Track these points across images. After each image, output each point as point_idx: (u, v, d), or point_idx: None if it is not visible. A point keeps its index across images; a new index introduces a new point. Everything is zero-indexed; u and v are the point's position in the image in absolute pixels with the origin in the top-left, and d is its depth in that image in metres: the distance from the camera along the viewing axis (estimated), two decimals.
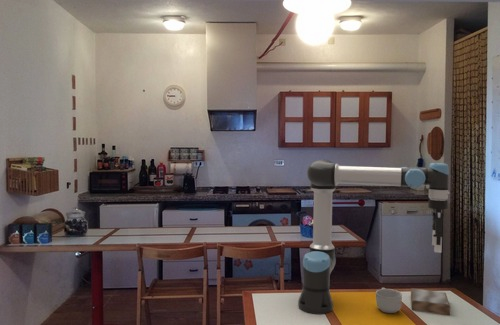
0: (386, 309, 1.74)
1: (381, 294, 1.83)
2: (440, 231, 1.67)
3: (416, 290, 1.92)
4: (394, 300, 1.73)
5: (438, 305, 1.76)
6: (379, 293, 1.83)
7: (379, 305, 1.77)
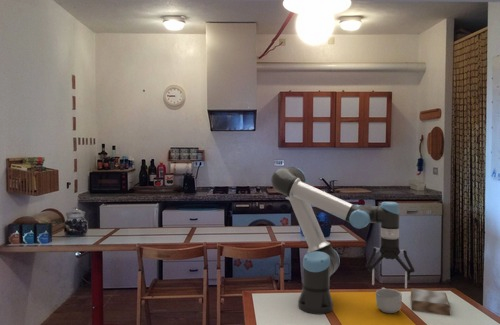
0: (386, 309, 1.74)
1: (381, 294, 1.83)
2: (366, 263, 1.82)
3: (416, 290, 1.92)
4: (394, 300, 1.73)
5: (438, 305, 1.76)
6: (379, 293, 1.83)
7: (379, 305, 1.77)
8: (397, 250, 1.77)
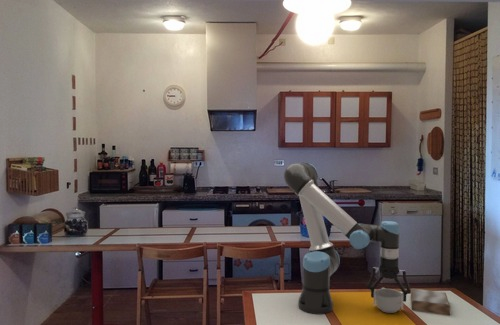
0: (386, 309, 1.74)
1: (381, 294, 1.83)
2: (368, 283, 1.82)
3: (416, 290, 1.92)
4: (394, 300, 1.73)
5: (438, 305, 1.76)
6: (379, 293, 1.83)
7: (379, 305, 1.77)
8: (396, 270, 1.78)
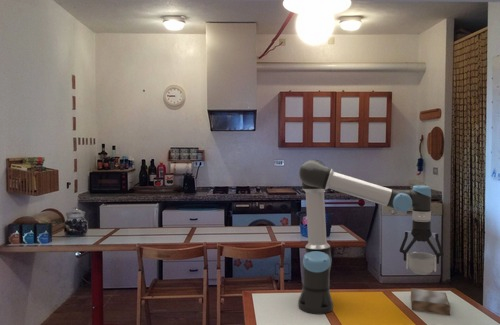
0: (419, 270, 1.77)
1: (413, 257, 1.86)
2: (400, 247, 1.85)
3: (416, 290, 1.92)
4: (427, 261, 1.76)
5: (438, 305, 1.76)
6: (411, 256, 1.85)
7: (412, 267, 1.79)
8: (429, 232, 1.80)
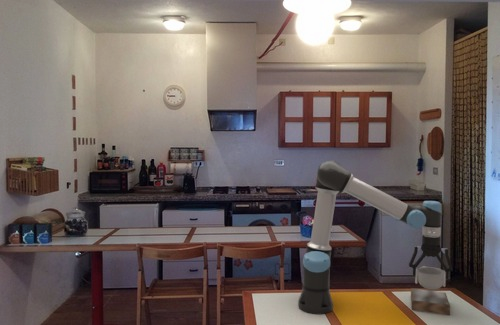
0: (429, 286, 1.79)
1: (422, 272, 1.88)
2: (410, 262, 1.87)
3: (416, 290, 1.92)
4: (437, 277, 1.78)
5: (438, 305, 1.76)
6: (420, 271, 1.87)
7: (422, 282, 1.81)
8: (439, 248, 1.82)
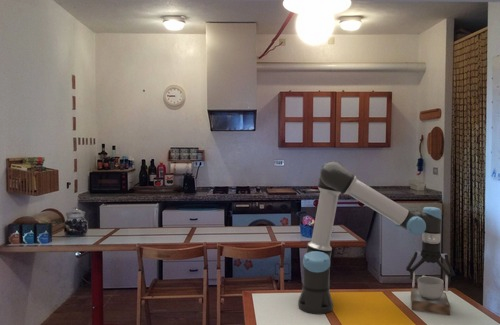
0: (429, 296, 1.79)
1: (422, 281, 1.88)
2: (407, 266, 1.87)
3: (416, 290, 1.92)
4: (437, 287, 1.78)
5: (438, 305, 1.76)
6: (420, 280, 1.87)
7: (422, 292, 1.81)
8: (438, 254, 1.82)
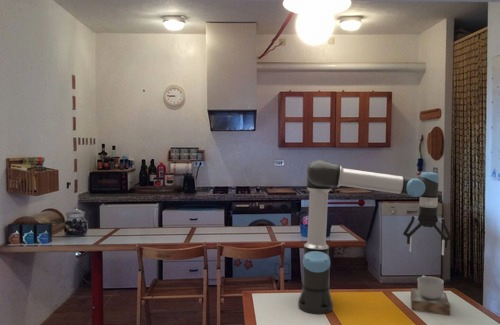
0: (429, 296, 1.79)
1: (422, 282, 1.88)
2: None
3: (416, 290, 1.92)
4: (437, 287, 1.78)
5: (438, 305, 1.76)
6: (420, 281, 1.87)
7: (422, 292, 1.81)
8: (435, 218, 1.84)
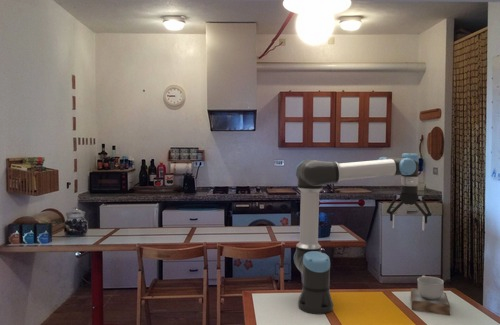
0: (429, 296, 1.79)
1: (422, 282, 1.88)
2: None
3: (416, 290, 1.92)
4: (437, 287, 1.78)
5: (438, 305, 1.76)
6: (420, 281, 1.87)
7: (422, 292, 1.81)
8: (416, 196, 1.96)
